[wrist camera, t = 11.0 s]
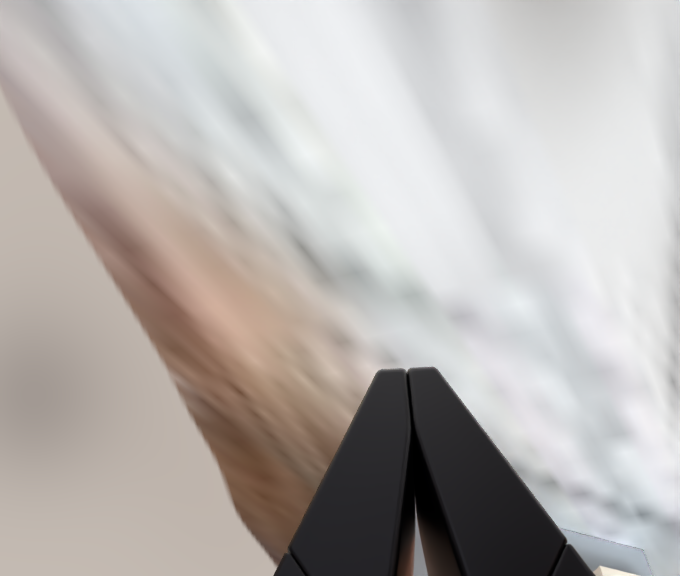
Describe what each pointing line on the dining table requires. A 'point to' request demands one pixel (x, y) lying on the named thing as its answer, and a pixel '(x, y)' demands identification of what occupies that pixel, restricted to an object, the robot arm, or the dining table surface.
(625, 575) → the key ivory
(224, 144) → the dining table surface
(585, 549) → the grey box
